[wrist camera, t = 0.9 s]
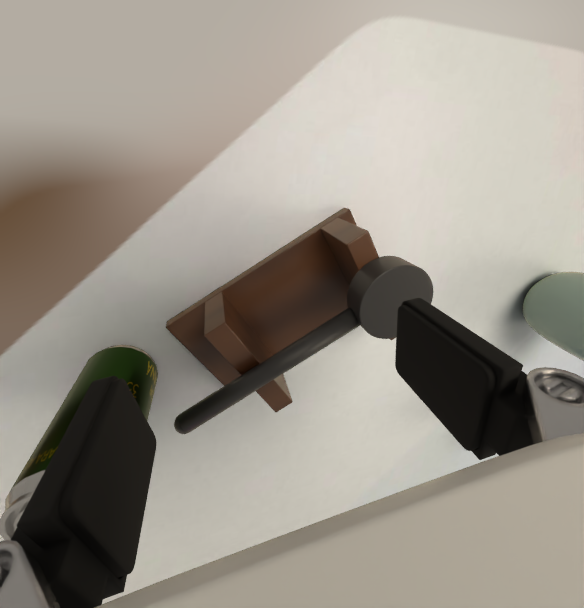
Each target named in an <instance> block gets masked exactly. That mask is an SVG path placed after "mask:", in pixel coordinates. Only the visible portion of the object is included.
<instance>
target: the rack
mask: <svg viewBox="0 0 584 608" xmlns="http://www.w3.org/2000/svg"><path fill="white" fill-rule="evenodd" d="M377 258H379V256H378V254H377V251H376V249H375V246H374V244H373V242H372V239H371V237H370V234H369V232H368V231H367V230H364V229H362V228H360V227H358V226H357V225H356V223H355V221H354V218H353V216H352V214H351V211H350V210H349V209H347V208H343V209H342V210H340V211H338V212H337V213H335V214H334V215H332V216H331V217H329V218H328V219H326V220H324V221H323V222H321V223H320V224H318V225H317V226H315V227H313V228H312V229H310V230H309V231H307V232H306V233H304V234H303V235H301V236H299V237H298V238H296V239H295V240H293V241H292V242H290V243H289V244H287V245H285V246H284V247H282V248H281V249H279V250H278V251H276V252H275V253H273V254H271V255H270V256H268V257H267V258H265V259H264V260H262V261H261V262H259V263H257V264H256V265H254V266H253V267H251V268H250V269H248V270H247V271H245V272H243V273H242V274H240V275H239V276H237V277H236V278H234V279H232V280H231V281H229V282H228V283H226V284H225V285H223V286H222V287H220V288H218V289H217V290H215V291H214V292H212V293H211V294H209V295H208V296H206V297H204V298H203V299H201V300H200V301H198V302H197V303H195V304H194V305H192V306H190V307H189V308H187V309H186V310H184V311H183V312H181V313H180V314H178V315H176V316H175V317H173V318H172V319H170V320H169V321H167V324H166V328H167V329H168V330H169V331H170V332H171V333H172V334H173V335H174V336H175V337H176V338H177V339H178V340H179V341H180V342H181V343H182V344H183V345H184V346H185V347H186V348H187V349H188V350H189V351H190V352H191V353H192V354H193V355H194V356H195V357H196V358H197V359H198V360H199V361H200V362H201V363H202V364H203V365H204V366H205V367H206V368H207V369H208V370H209V371H210V372H211V373H212V374H213V375H214V376H215V377H216V378H217V379H218V380H219V381H220V382H221V383H222V384H223V385H224V386H225V385H227V384H228V383H230V382H232V381H233V380H235V379H236V378H238V377H239V376H241V375H243V374H244V373H246V372H247V371H249V370H251V369H252V368H254V367H255V366H257V365H259V364H260V363H262V362H263V361H265V360H266V359H268V358H270V357H271V356H273V355H274V354H276V353H278V352H279V351H281V350H282V349H284V348H285V347H287V346H289V345H290V344H292V343H293V342H295V341H297V340H298V339H300V338H301V337H303V336H304V335H306V334H308V333H309V332H311V331H312V330H314V329H316V328H317V327H319V326H320V325H322V324H323V323H325V322H327V321H328V320H330V319H331V318H333V317H335V316H336V315H338V314H339V313H341V312H343V311H344V310H346V309H347V308H348V305H347V293H348V289H349V286H350V283H351V281H352V279H353V278H354V276H355V275H356V273H357V272H358V271H359V270H360V269H361V268H362V267H363V266H364V265H366V264H367V263H369V262H370V261H372V260H374V259H377ZM395 338H396V337H395ZM389 339H390V340H393V339H394V338H389ZM256 392H257V393H258V394H259V395H260V396H261V397H262V398H263V399H264V400H265V401H266V403H267V404H268V405H269V406H270V407H271V408H272V409H273V410H274V411H275V412H278V411H279V410H281V409H282V408H284V407H286V406H287V405H289V404H290V403H292V399H291V396H290V393H289V390H288V387H287V384H286V381H285V378H284V375H283V374H281V375H280V376H278V377H277V378H275V379H274V380H272V381H270V382H269V383H267V384H266V385H264V386H262V387H261V388H259V389H258V390H256Z"/></svg>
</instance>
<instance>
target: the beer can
mask: <svg viewBox="0 0 584 608" xmlns="http://www.w3.org/2000/svg"><path fill="white" fill-rule="evenodd" d="M110 376H116V377H118V379H121V378H122V379H124V380H125V381H126V383H127V385H128V387H129V388H130V390H131V392H132V394H133V396H134V398H135V400H136V401H137V403H138V405H139V407H140V409H141V411H142V413H143V414H144V416H145V418H146V420H148V416H149V412H150V407H151V403H152V399H153V395H154V391H155V386H156V382H157V377H158V371H157V367H156V364H155V362H154V361H153V359H152V358H151V357H150V355H149V354H147V353H146V352H145V351H143V350H142V349H139V348H137V347H134V346H128V345H117V346H111V347H109V348H106V349H104V350H101V351H99V352H97V353H96V354H95V355H93V356H92V357H91V358H90V359H89V360H88V362H87V363H86V365H85V367H84V368H83V370H82V372H81V373H80V375H79V377H78V378H77V380H76V382H75V383H74V385H73V387H72V389H71V390H70V392H69V394H68V395H67V397H66V399H65V400H64V402H63V404H62V405H61V407H60V409H59V410H58V412H57V414H56V415H55V417H54V419H53V420H52V422H51V424H50V425H49V427H48V429H47V430H46V432H45V434H44V435H43V437H42V439H41V440H40V442H39V444H38V445H37V447H36V449H35V450H34V452H33V454H32V455H31V457H30V459H29V460H28V462H27V464H26V465H25V467H24V469H23V470H22V472H21V474H20V475H19V477H18V479H17V480H16V482H15V484H14V485H13V487H12V489H11V491H10V492H9V494H8V496H7V498H6V499H5V512H4V513H3V515H2V517H1V519H0V535H1V536H2V537H3V538H4V540H11V538H12V536H13V534H14V532H15V530H16V528H17V526H16V525H17V523H18V522H19V520H20V518H21V516H22V514H23V512H24V510H25V508H26V506H27V504H28V503H29V501H30V499H31V497H32V495H33V493H34V491H35V489H36V487H37V485H38V483H39V482H40V480H41V478H42V476H43V474H44V472H45V470H46V468H47V466H48V464H49V463H50V461H51V459H52V457H53V455H54V453H55V451H56V449H57V447H58V445H59V443H60V442H61V440H62V438H63V436H64V434H65V432H66V430H67V428H68V426H69V424H70V423H71V421H72V419H73V417H74V415H75V413H76V411H77V409H78V407H79V405H80V403H81V402H82V400H83V398H84V396H85V394H86V392H87V390H88V388H89V386H90V384H91V383H92V382H93V381H95V380H98V379H102V378H106V377H110Z"/></svg>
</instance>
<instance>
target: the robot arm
mask: <svg viewBox="0 0 584 608" xmlns="http://www.w3.org/2000/svg"><path fill="white" fill-rule="evenodd" d="M395 365H396V369H397V372H398V373H399V375H400V376H401V377H402V378H403V379H404V381H405V382H406V383H407V384H408V385H409V386H410V387H411V388H412V390H413V391H414V392H415V393H416V394H417V395H418V396H419V398H420V399H421V400H422V401H423V402H424V403H425V404H426V405H427V407H428V408H429V409H430V410H431V411H432V412H433V413H434V415H435V416H436V417H437V418H438V419H439V420H440V421H441V422H442V424H443V425H444V426H445V427H446V428H447V429H448V430H449V432H450V433H451V434H452V435H453V436H454V437H455V438H456V439H457V441H458V442H459V443H460V444H461V445H462V446H463V447H464V448H465V449H466V450H468V451H472V452H473V453H474V454H475V455H476V456H477V458H478V459H479V460H482V459H484V458H487V457H490V456H492V455H495V454H496V453H497V454H498V455H499V456H498V457H495V458H492V459H489V460H487V461H484V462H481V463H478V464H475V465H473V466H470V467H467V468H464V469H462V470H459V471H456V472H453V473H451V474H448V475H445V476H442V477H440V478H437V479H434V480H431V481H429V482H426V483H423V484H420V485H418V486H415V487H412V488H409V489H406V490H404V491H401V492H398V493H396V494H393V495H390V496H387V497H385V498H382V499H379V500H377V501H374V502H371V503H368V504H366V505H363V506H360V507H358V508H355V509H352V510H349V511H347V512H344V513H341V514H339V515H336V516H333V517H331V518H328V519H325V520H322V521H320V522H317V523H314V524H312V525H309V526H306V527H304V528H301V529H298V530H296V531H293V532H290V533H287V534H285V535H282V536H279V537H277V538H274V539H271V540H269V541H266V542H263V543H261V544H258V545H255V546H253V547H250V548H247V549H245V550H242V551H239V552H237V553H234V554H232V555H229V556H226V557H224V558H221V559H218V560H216V561H213V562H210V563H208V564H205V565H202V566H200V567H197V568H194V569H192V570H189V571H186V572H184V573H181V574H178V575H176V576H173V577H170V578H168V579H165V580H163V581H160V582H158V583H155V584H153V585H150V586H148V587H145V588H143V589H140V590H138V591H135V592H133V593H130V594H128V595H125V596H122V597H120V598H117V599H115V600H112V601H110V602H107V603H105V604H102V600H103V599H105V598H107V597H110V596H113V595H116V594H118V593H121V592H124V587H125V582H126V577H127V574H130V573H131V572H132V571H133V568H134V565H135V560H136V555H137V549H138V544H139V538H140V533H141V527H142V522H143V516H144V511H145V505H146V500H147V494H148V489H149V484H150V478H151V473H152V467H153V462H154V456H155V451H156V438H155V435H154V433H153V431H152V429H151V427H150V426H149V424H148V422H147V420H146V418H145V416H144V414H143V413H142V411H141V409H140V407H139V405H138V403H137V401H136V400H135V398H134V396H133V394H132V392H131V390H130V388H129V387H128V385H127V383H126V381H125V380H124V379H122V378H121V379H118V377H116V376H110V377H106V378H102V379H98V380H95V381H93V382H92V383H91V384H90V386H89V388H88V390H87V392H86V394H85V396H84V398H83V400H82V402H81V403H80V405H79V407H78V409H77V411H76V413H75V415H74V417H73V419H72V421H71V423H70V424H69V426H68V428H67V430H66V432H65V434H64V436H63V438H62V440H61V442H60V443H59V445H58V447H57V449H56V451H55V453H54V455H53V457H52V459H51V461H50V463H49V464H48V466H47V468H46V470H45V472H44V474H43V476H42V478H41V480H40V482H39V483H38V485H37V487H36V489H35V491H34V493H33V495H32V497H31V499H30V501H29V503H28V504H27V506H26V508H25V510H24V512H23V514H22V516H21V518H20V520H19V522H18V523H17V525H16V526H17V528H16V530H15V532H14V534H13V536H12V538H11V540H5V541H1V542H0V608H584V378H582V377H580V376H578V375H576V374H574V373H571V372H568V371H565V370H561V369H556V368H546V367H544V368H536V369H534V370H532V371H530V372H529V374H528V375H527V374H525V373H524V372H522V371H521V370H522V367H523V365H522V364H521V363H519V362H518V361H516V360H515V359H513V358H512V357H510V356H509V355H507V354H505V353H504V352H502V351H501V350H499V349H498V348H496V347H495V346H493V345H492V344H490V343H489V342H487V341H486V340H484V339H483V338H481V337H480V336H478V335H477V334H475V333H473V332H472V331H470V330H469V329H467V328H466V327H464V326H463V325H461V324H460V323H458V322H457V321H455V320H454V319H452V318H451V317H449V316H448V315H446V314H445V313H443V312H441V311H440V310H438V309H437V308H435V307H434V306H432V305H431V304H429V303H428V302H426V301H425V300H423V299H422V298H414V299H411V300H407V301H404V302H402V304H401V306H400V307H399V308H398V317H397V339H396V362H395ZM101 604H102V605H101Z"/></svg>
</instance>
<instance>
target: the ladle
mask: <svg viewBox="0 0 584 608" xmlns="http://www.w3.org/2000/svg"><path fill="white" fill-rule="evenodd" d="M432 297H433V286H432V282H431V279H430V277H429V276H428V274H427V273H426V272H425V271H424V270H422V269H421V268H419V267H417V266H415V265H413V264H411V263H409V262H407V261H405V260H403V259H402V258H399V257H395V256H384V257H380V258H377V259H374V260H372V261H370V262H369V263H367V264H366V265H364V266H363V267H362V268H361V269H360V270H359V271H358V272H357V273H356V275H355V276H354V278H353V279H352V281H351V283H350V286H349V289H348V293H347V305H348V308H347V309H346V310H344V311H343V312H341V313H339V314H338V315H336V316H335V317H333V318H331V319H330V320H328V321H327V322H325V323H323V324H322V325H320V326H319V327H317V328H316V329H314V330H312V331H311V332H309V333H308V334H306V335H304V336H303V337H301V338H300V339H298V340H297V341H295V342H293V343H292V344H290V345H289V346H287V347H285V348H284V349H282V350H281V351H279V352H278V353H276V354H274V355H273V356H271V357H270V358H268V359H266V360H265V361H263V362H262V363H260V364H259V365H257V366H255V367H254V368H252V369H251V370H249V371H247V372H246V373H244V374H243V375H241V376H239V377H238V378H236V379H235V380H233V381H232V382H230V383H228V384H227V385H225V386H224V387H222V388H220V389H219V390H217V391H216V392H214V393H213V394H211V395H209V396H208V397H206V398H205V399H203V400H201V401H200V402H198V403H197V404H195V405H194V406H192V407H190V408H189V409H187V410H186V411H184V412H182V413H181V414H179V415H178V416H177V417H176V419H175V422H174V427H175V429H176V431H177V432H179V433H181V434H186V433H189V432H191V431H192V430H194V429H196V428H197V427H199V426H200V425H202V424H204V423H205V422H207V421H208V420H210V419H211V418H213V417H215V416H216V415H218V414H219V413H221V412H223V411H224V410H226V409H227V408H229V407H231V406H232V405H234V404H235V403H237V402H239V401H240V400H242V399H243V398H245V397H246V396H248V395H250V394H251V393H253V392H254V391H256V390H258V389H259V388H261V387H262V386H264V385H266V384H267V383H269V382H270V381H272V380H274V379H275V378H277V377H278V376H280V375H281V374H283V373H285V372H286V371H288V370H289V369H291V368H293V367H294V366H296V365H297V364H299V363H301V362H302V361H304V360H305V359H307V358H309V357H310V356H312V355H313V354H315V353H317V352H318V351H320V350H321V349H323V348H324V347H326V346H328V345H329V344H331V343H332V342H334V341H336V340H337V339H339V338H340V337H342V336H344V335H345V334H347V333H348V332H350V331H352V330H353V329H355V328H356V327H358V326H359V325H361V326H362V327H363V328H364V329H365V330H366V332H368V333H369V334H370V335H372V336H374V337H377V338H382V339H389V338H395V337H397V317H398V308H399V307H400V306H401V304H402V302H404V301H407V300H411V299H414V298H422V299H423V300H425V301H426V302H428V303H429V304H431V302H432Z"/></svg>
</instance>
